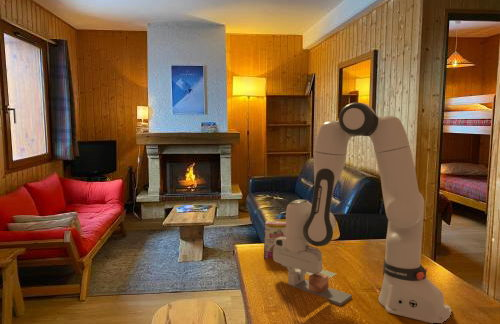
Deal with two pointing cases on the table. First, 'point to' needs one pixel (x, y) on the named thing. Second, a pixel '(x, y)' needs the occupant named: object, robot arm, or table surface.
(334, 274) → the sage green strip
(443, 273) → the table surface
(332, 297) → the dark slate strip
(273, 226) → the candy bar box
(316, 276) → the terracotta block
